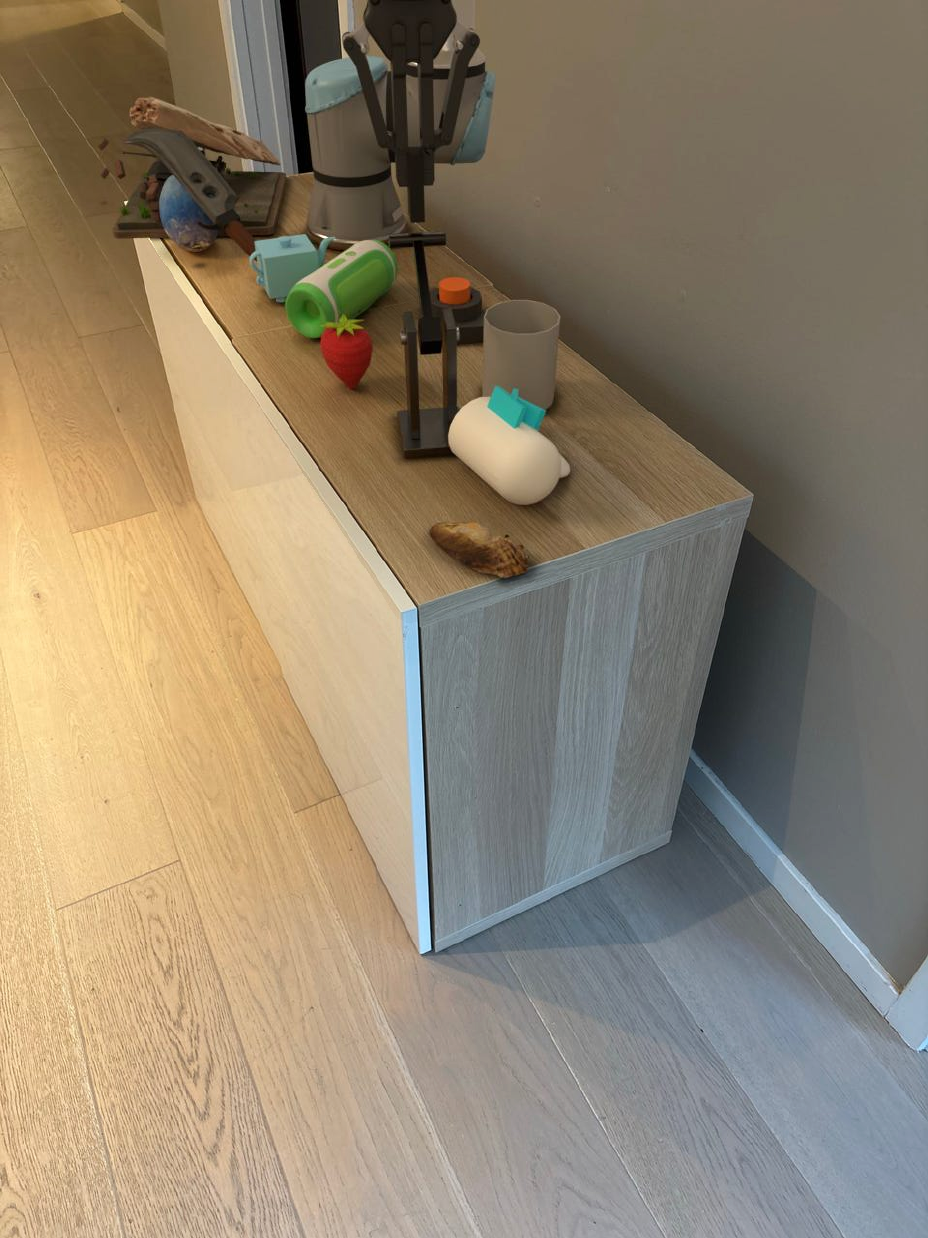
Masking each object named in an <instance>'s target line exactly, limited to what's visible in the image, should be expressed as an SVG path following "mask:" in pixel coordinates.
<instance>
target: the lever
mask: <svg viewBox="0 0 928 1238" xmlns="http://www.w3.org/2000/svg"><path fill="white" fill-rule="evenodd" d="M446 245H447V235H446V231H445V230H440V231H439V230H437V231H420V232H417V231H415V232H405V233H397V234H389V245H388V247H389V248H390V249H405V248H409V249H410V248H412V251H413V252H412V254H413V260H414V267H415V268H414V269H415V276H416V284H417V285H416V286H417V292H418V299H419V300H418V301H419V307H420V315H421V317H418V318H417V342H418V347H419V354H420V356H426V355H440V354H441V355H442V333H441V325H440V318H439V317H433V312H432V305H431V297H430V292H431V290H430V283H429V276H428V267H427V261H426V260H427V259H426V252H425V248H426V247H427V248H428V247H443V246H444V247H445V246H446Z"/></svg>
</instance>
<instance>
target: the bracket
mask: <svg viewBox="0 0 928 1238" xmlns="http://www.w3.org/2000/svg"><path fill="white" fill-rule="evenodd" d="M402 324H403V325H402V327H403V330H399V339H400V340H399V341H400V345H401V346H403V347H404V369H405V371H404V372H405V389H406V391H405V392H406V409H400V410H397V412H396V413H397V414H396V415H397V423H398V429H399V436H400V441H401V447H402V453H403V459H406V460H407V459H422V458H433V457H435V458H436V457H445V456H446V457H447V456H456V455H455V454H454V453H453V452H452V450H451V448H450V446H449V439H448V434H449V430H450V425H451V424H452V422H453V420H454V418H455V416H456V414H457V413H458V412H459V411H460V410H461V409H460V407H459V406H458V343H457V341H459V340H460V333H459V328H458V327H456V324H455V321H454V317H453V314H452V310H451V308H450V309H442V352H441V357H442V358H441V360H442V361H441V363H442V365H441V366H442V367H441V369H442V371H441V372H442V407H430V408H429V407H428V408H420V386H419V385H420V384H419V357H418V356H419V355H418V333H417V331H418V329H417V325H416V321H415V316H414V313H413V310H405V311H402Z"/></svg>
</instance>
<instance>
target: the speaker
mask: <svg viewBox="0 0 928 1238" xmlns="http://www.w3.org/2000/svg"><path fill="white" fill-rule="evenodd" d="M398 273H399V265H398V260H397V258H396V254H395V253H394V252H393V250H392V248H390V247H389V245H388V246H387V245H386V244H384V243H383V242H381V241H378V240H364V241H361V242H358V243H356V244H354V245H352V246H351V247H350V248H349V249H347V250H343V252H341V253H340V254H338V255H336V256H335V257H334V258H332V259H331V260H328V261H327V262H326V263H325V264H323V266H322V267H320V268H319V269H317V270H316V271H314V272H313V273H311V274H310V275H308V276H306V277H305V278H303V279H301V280H300V281H299V282H298V283H297V284H296V285H295V286H294V287H293V288H292V290H291V291H290V292H289V294H288V296H287V298H286V301H285V302H284V309H285V313H286V316H287V319H288V320H289V322H290V324H291V325H292V327H293V328H294V329H295V330H296V332H298V333H299V334H300V335H302V336H304V337H305V338H309V339H318V338H320V339H321V336H322V334H323V332H324V331H325V330H326V328H323V327H318V326H319V325H324V324H325V322H332V323H334V322H335V323H338V322H340V321H339V319H340V318H341V317H342V316H343V315H342V314H344V315H345V317H346V318H347V320H355V319H356V318H358V316H360V315H362V313H364V312H365V311H366V310H368V309H369V308H370V307H371V306H372V305H373V304H374V303H375V302H376V301H377V300H378V299H379V298H381V297H382V296H384V295H385V294H387V292H388V291H389V290H390V289H391V288H392V286H393V284H394V283H395V282H396V279H397V277H398ZM335 308H336V309H337V310H339V311H340V312H341V313H342V314H341V313H340V312H339V311H337V310H336V309H335Z"/></svg>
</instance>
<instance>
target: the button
mask: <svg viewBox="0 0 928 1238" xmlns="http://www.w3.org/2000/svg"><path fill="white" fill-rule="evenodd" d="M438 287H439V300H440V301H441V302H443V303H447V304H463V303H466V302H469V301H470V287H471V281H469V280H468V279H466V278H463V277H458V276H456V277H455V276H453V277H446V278H444V279H441V280H440V281H439V282H438Z"/></svg>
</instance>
